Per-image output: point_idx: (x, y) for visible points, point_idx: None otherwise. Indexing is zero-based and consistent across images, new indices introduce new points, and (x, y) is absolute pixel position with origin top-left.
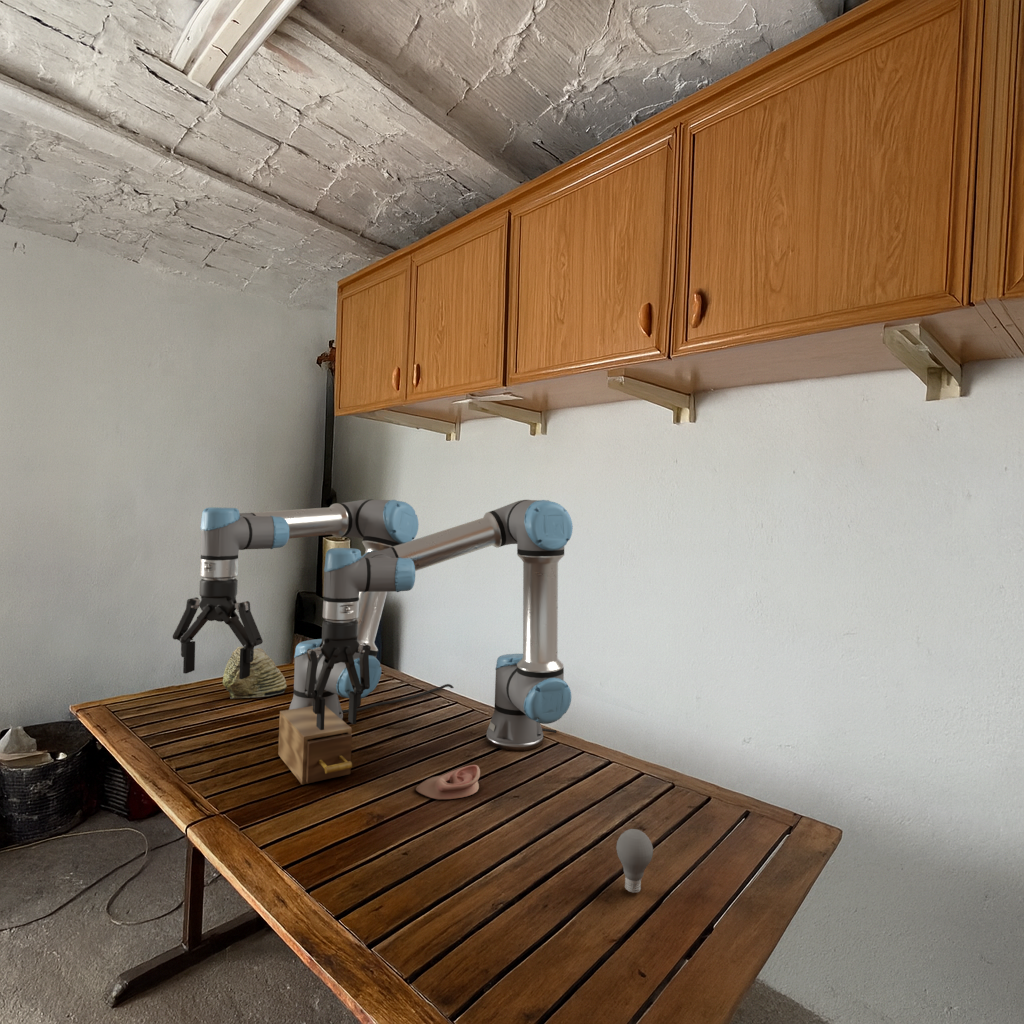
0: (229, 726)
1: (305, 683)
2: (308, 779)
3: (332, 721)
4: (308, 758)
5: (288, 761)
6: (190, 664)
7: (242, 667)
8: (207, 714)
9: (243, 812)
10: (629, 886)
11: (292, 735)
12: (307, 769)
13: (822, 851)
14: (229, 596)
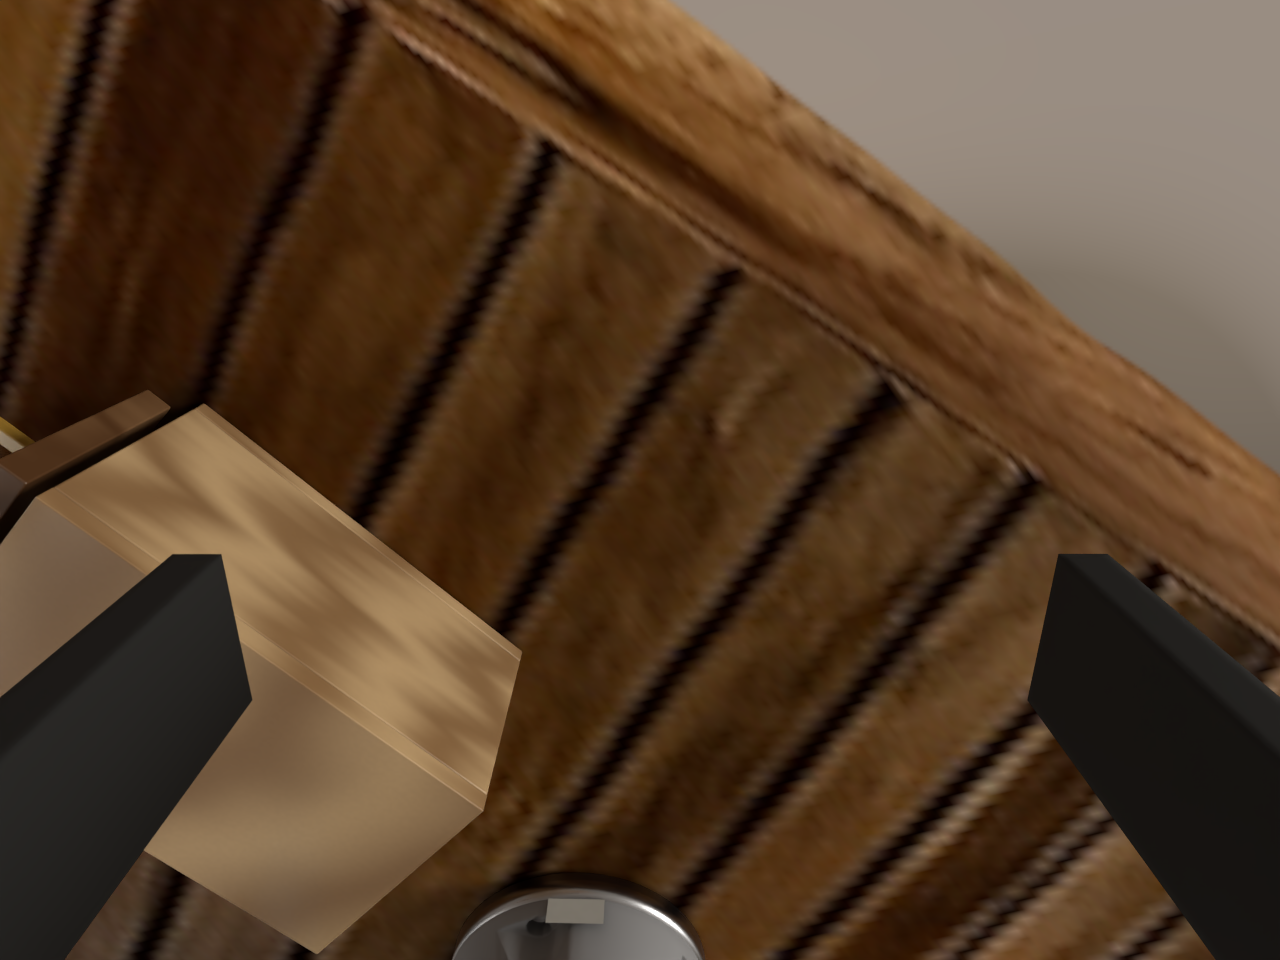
0: (927, 849)
1: None
2: (133, 396)
3: None
4: (63, 429)
5: (379, 560)
6: (1099, 693)
7: (67, 646)
8: (1102, 930)
9: (260, 51)
10: None
11: (276, 609)
12: (116, 416)
13: None
14: None
